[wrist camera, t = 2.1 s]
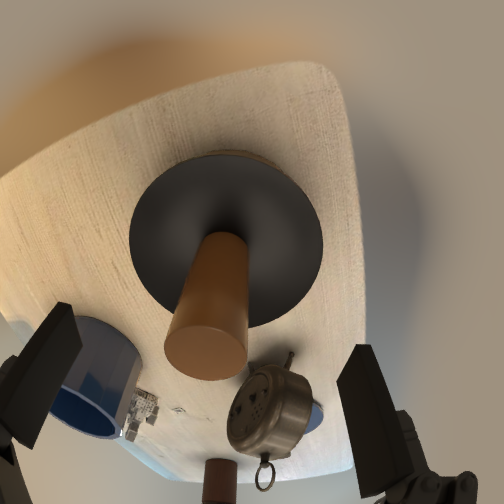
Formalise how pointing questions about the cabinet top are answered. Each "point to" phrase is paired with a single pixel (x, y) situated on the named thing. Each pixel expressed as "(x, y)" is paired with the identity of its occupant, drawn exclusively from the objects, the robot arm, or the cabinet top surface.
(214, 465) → the lamp
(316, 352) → the cabinet top surface
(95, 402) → the pot
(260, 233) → the lid
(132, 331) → the cabinet top surface
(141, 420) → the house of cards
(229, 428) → the alarm clock
